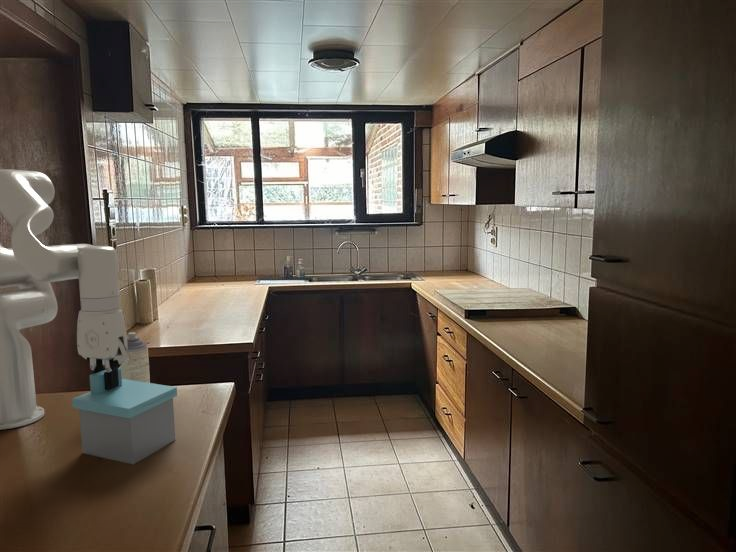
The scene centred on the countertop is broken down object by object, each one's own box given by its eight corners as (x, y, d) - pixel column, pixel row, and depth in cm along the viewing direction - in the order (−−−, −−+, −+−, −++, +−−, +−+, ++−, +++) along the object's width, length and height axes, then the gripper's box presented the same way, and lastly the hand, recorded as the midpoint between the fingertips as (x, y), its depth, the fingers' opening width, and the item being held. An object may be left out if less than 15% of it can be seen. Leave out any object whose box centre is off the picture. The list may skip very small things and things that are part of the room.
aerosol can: (145, 402, 140) (141, 328, 138) (155, 409, 136) (151, 333, 133) (118, 409, 136) (113, 333, 133) (128, 416, 131) (122, 337, 128)
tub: (82, 453, 112) (78, 403, 110) (127, 430, 123) (124, 385, 121) (133, 464, 106) (129, 412, 105) (175, 440, 118) (172, 392, 116)
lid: (72, 407, 110) (70, 379, 109) (124, 387, 122) (122, 362, 121) (129, 418, 104) (127, 389, 104) (177, 395, 117) (175, 369, 116)
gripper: (57, 304, 112) (64, 388, 114) (115, 310, 106) (120, 398, 109) (88, 298, 119) (93, 377, 121) (143, 303, 113) (148, 386, 116)
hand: (106, 386), depth 115 cm, fingers closed on lid, 2 cm apart
